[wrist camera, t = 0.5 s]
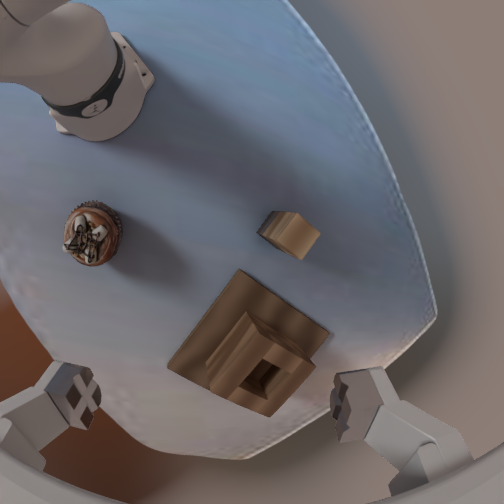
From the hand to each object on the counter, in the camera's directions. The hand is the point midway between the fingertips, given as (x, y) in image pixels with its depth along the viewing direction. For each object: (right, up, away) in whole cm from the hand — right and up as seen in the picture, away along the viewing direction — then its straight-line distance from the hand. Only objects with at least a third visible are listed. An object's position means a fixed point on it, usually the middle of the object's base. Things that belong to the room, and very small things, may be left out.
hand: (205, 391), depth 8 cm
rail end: (+5, +8, +40) cm, 41 cm away
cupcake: (-23, +8, +33) cm, 41 cm away
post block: (+1, -14, +42) cm, 44 cm away
